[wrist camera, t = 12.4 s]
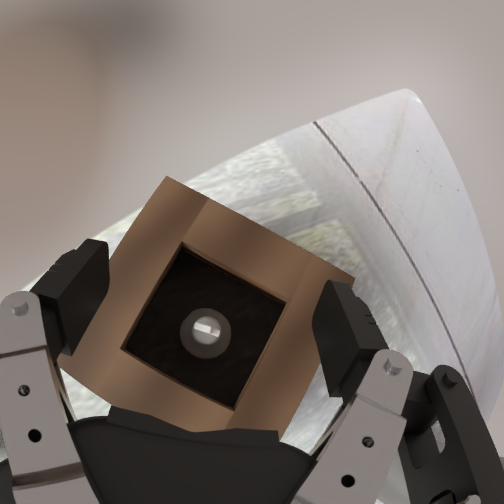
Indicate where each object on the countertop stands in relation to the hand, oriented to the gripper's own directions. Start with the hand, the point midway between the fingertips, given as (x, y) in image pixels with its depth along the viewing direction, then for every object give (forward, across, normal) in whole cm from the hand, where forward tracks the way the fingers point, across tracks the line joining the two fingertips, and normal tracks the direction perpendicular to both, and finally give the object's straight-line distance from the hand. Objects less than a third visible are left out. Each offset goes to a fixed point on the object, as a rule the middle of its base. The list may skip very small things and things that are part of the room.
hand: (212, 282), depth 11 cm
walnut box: (+12, 0, +14) cm, 19 cm away
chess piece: (+12, 0, +14) cm, 19 cm away
